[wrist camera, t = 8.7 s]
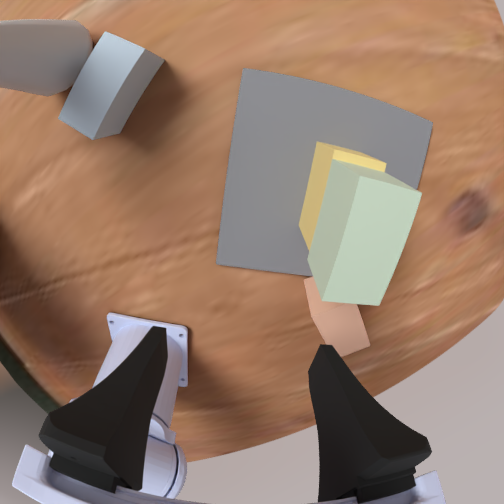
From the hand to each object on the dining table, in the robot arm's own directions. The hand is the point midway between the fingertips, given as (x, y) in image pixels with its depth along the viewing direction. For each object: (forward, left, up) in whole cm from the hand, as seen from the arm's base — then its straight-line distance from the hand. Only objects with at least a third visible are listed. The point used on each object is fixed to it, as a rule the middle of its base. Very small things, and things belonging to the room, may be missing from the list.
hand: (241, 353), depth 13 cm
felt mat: (+6, -5, -10) cm, 13 cm away
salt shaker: (+14, +15, -10) cm, 23 cm away
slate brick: (+11, +10, -10) cm, 18 cm away
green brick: (+6, -5, -5) cm, 9 cm away
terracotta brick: (-3, -8, -10) cm, 13 cm away
